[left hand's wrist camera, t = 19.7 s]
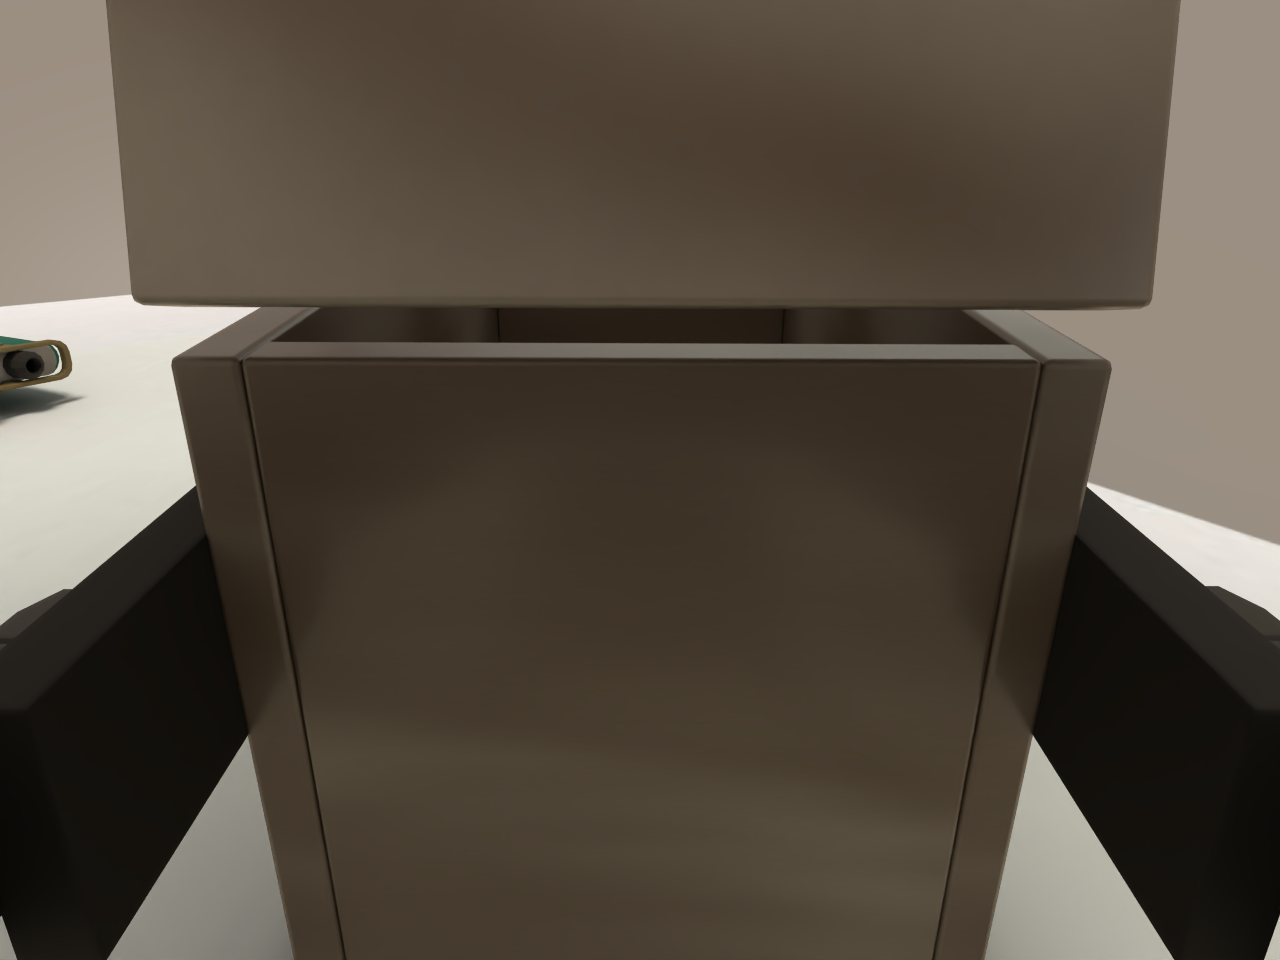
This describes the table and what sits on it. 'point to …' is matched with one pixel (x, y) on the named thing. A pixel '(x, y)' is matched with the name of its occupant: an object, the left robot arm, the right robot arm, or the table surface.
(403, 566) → the chest
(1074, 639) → the left robot arm
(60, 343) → the spray gun
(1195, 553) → the table surface
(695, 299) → the lid
